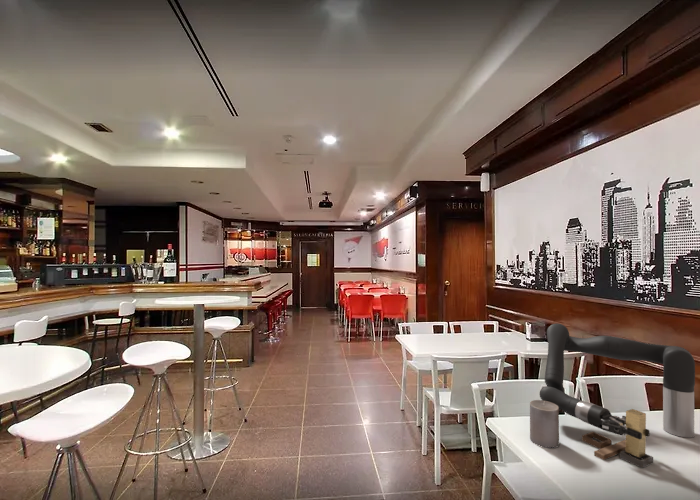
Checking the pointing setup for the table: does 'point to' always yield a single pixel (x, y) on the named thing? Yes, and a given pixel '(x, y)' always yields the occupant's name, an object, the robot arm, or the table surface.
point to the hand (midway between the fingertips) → (645, 434)
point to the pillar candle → (544, 423)
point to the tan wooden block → (638, 423)
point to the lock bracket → (614, 449)
